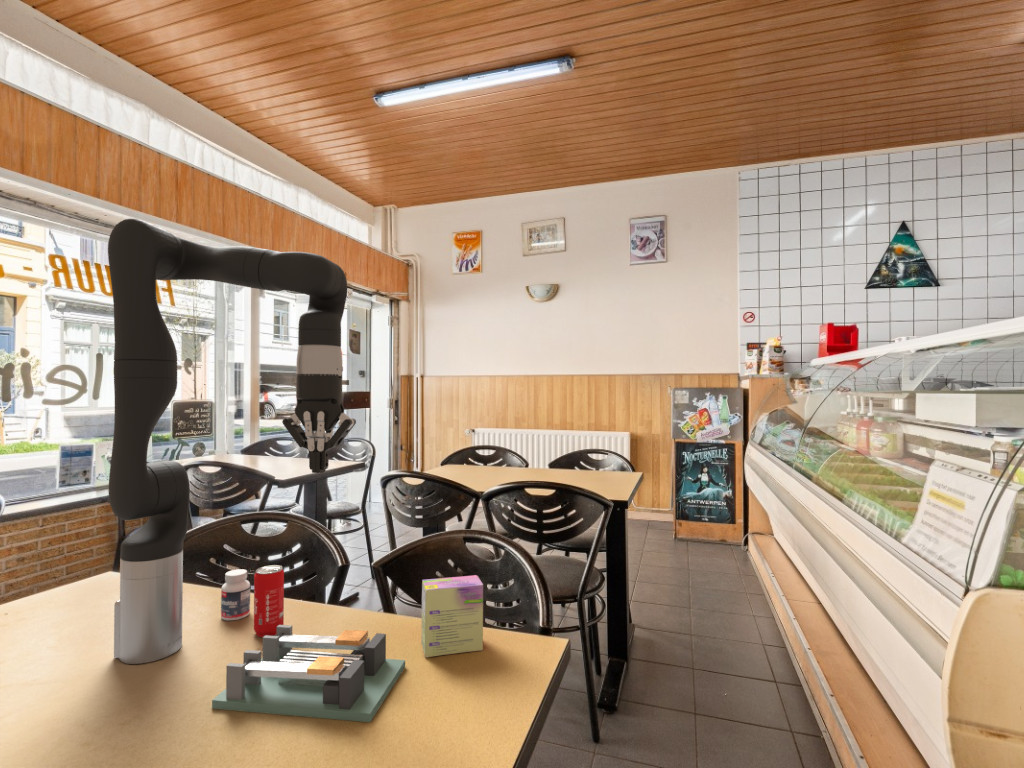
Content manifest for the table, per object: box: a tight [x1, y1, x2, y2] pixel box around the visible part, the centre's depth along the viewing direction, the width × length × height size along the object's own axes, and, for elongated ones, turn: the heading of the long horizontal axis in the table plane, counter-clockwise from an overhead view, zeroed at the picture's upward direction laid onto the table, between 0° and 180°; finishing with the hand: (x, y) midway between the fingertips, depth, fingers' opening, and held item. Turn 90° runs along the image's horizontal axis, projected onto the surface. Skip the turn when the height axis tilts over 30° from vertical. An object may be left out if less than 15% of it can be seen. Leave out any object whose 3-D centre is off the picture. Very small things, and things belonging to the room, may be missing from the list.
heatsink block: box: [278, 649, 363, 687], centre depth 84 cm, size 12×4×3 cm, turn 83°
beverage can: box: [253, 564, 285, 638], centre depth 103 cm, size 5×5×12 cm
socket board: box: [211, 624, 406, 723], centre depth 84 cm, size 24×15×6 cm, turn 83°
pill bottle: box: [220, 568, 251, 622], centre depth 110 cm, size 5×5×9 cm
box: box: [420, 574, 484, 658], centre depth 97 cm, size 10×6×12 cm, turn 106°
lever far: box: [278, 629, 371, 651], centre depth 89 cm, size 16×4×2 cm, turn 83°
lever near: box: [244, 656, 346, 680], centre depth 80 cm, size 16×4×2 cm, turn 83°
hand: (319, 472), depth 93 cm, fingers closed
